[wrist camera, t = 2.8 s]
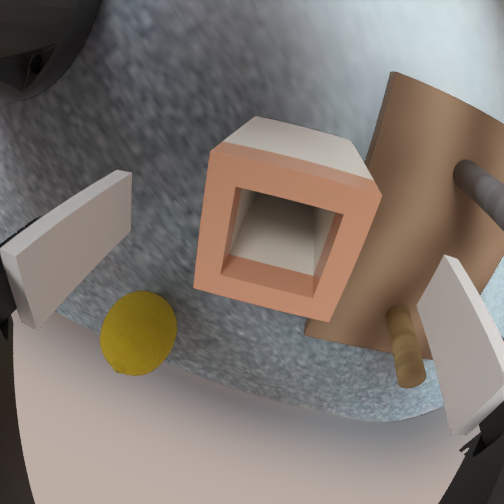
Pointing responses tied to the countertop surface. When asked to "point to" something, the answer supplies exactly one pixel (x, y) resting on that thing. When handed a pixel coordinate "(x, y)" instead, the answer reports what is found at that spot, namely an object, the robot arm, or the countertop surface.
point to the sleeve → (283, 217)
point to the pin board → (421, 219)
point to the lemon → (138, 333)
